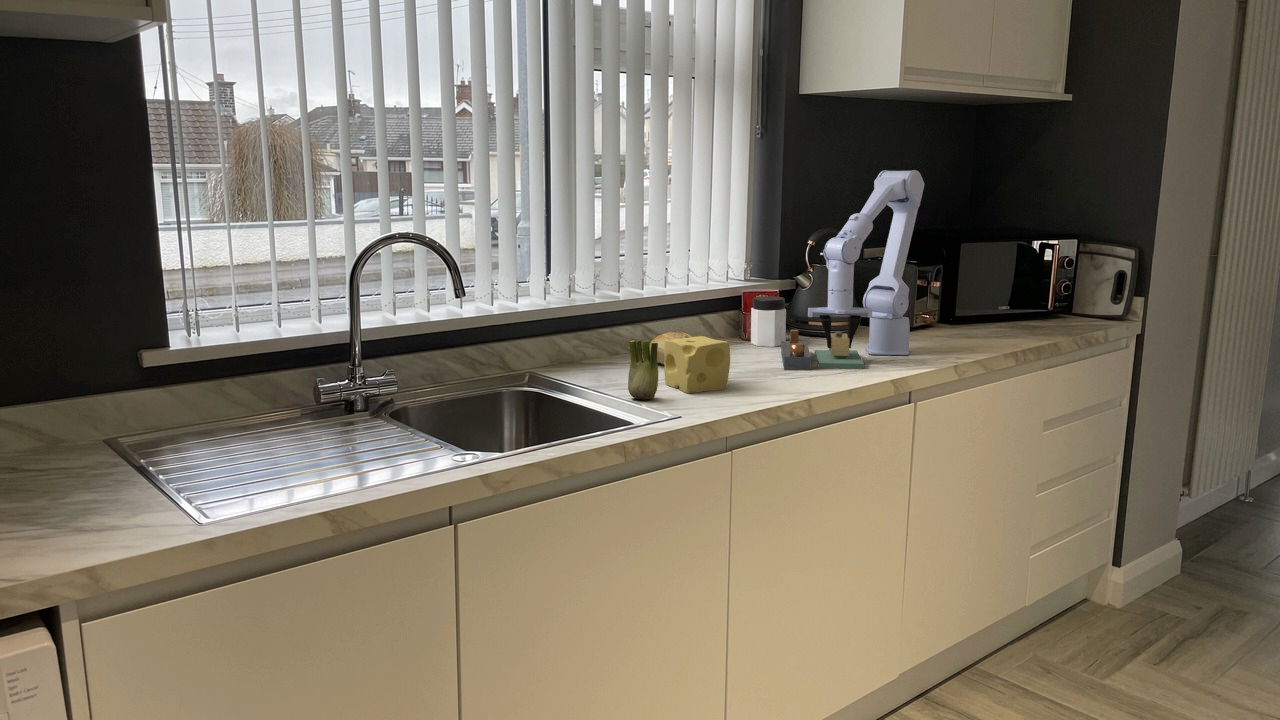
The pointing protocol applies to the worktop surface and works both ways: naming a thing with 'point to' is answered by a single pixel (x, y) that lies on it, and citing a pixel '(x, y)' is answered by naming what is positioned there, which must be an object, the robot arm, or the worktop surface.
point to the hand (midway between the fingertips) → (838, 347)
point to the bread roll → (661, 343)
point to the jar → (768, 321)
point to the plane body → (795, 353)
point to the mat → (839, 360)
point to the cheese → (696, 364)
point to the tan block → (839, 344)
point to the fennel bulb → (643, 370)
